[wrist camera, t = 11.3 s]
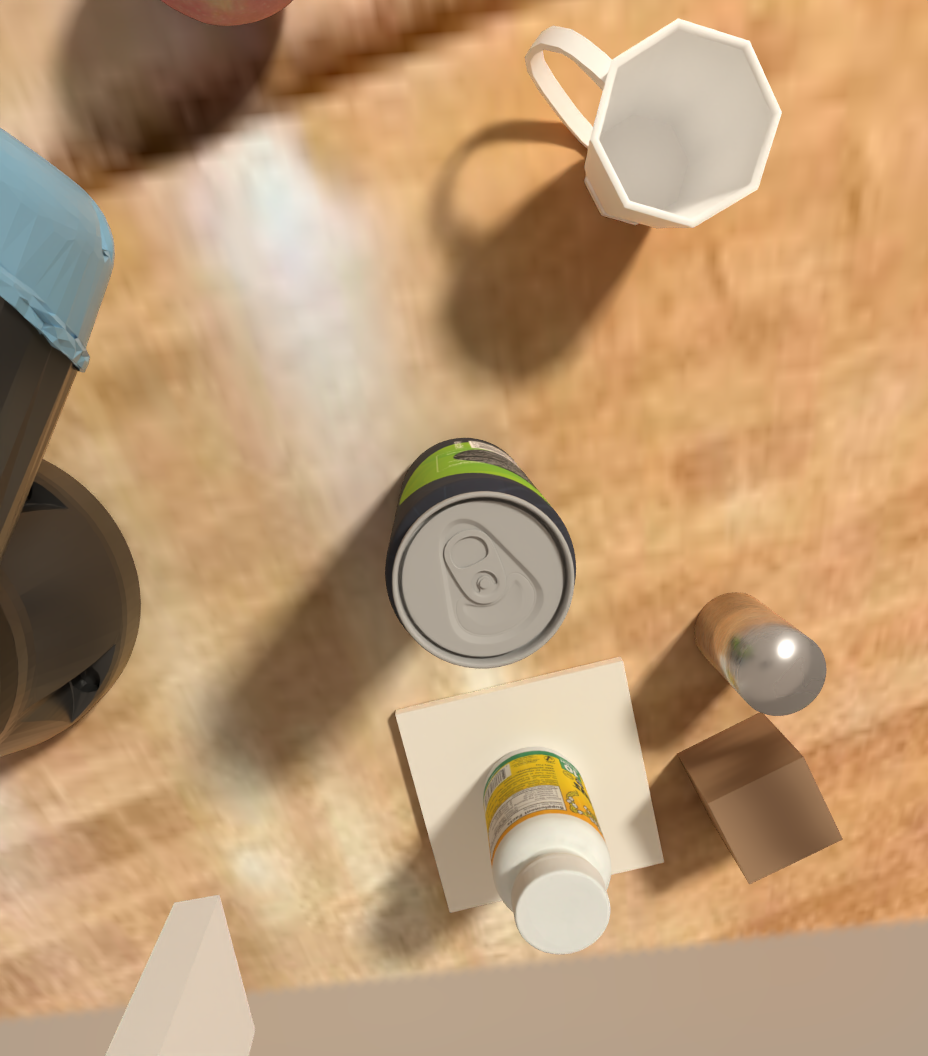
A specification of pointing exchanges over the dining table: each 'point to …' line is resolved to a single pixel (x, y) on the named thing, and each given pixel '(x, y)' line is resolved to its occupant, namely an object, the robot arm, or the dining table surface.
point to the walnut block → (760, 797)
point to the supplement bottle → (547, 850)
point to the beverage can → (477, 557)
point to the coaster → (517, 722)
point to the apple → (228, 10)
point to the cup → (666, 122)
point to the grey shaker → (760, 654)
